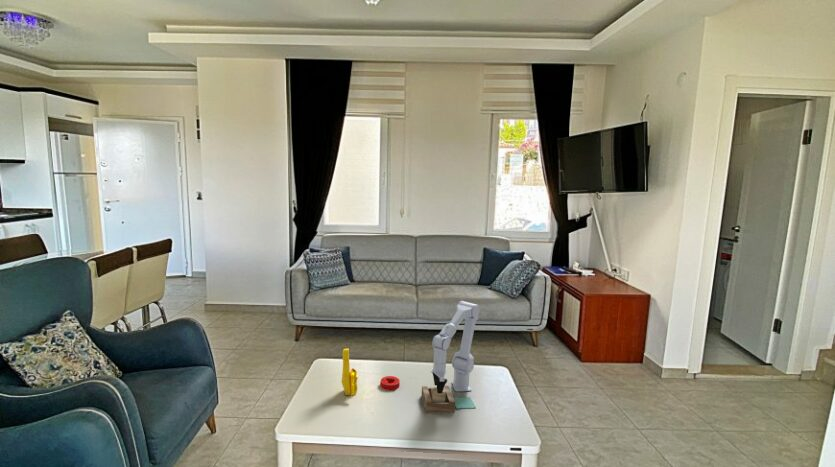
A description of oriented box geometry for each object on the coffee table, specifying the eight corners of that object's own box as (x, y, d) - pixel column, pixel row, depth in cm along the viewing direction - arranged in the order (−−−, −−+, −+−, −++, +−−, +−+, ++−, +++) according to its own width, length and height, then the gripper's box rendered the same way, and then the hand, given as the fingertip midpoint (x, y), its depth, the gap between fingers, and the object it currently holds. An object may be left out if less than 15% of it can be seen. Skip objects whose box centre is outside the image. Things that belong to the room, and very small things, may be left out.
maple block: (430, 397, 197) (431, 387, 196) (443, 397, 198) (444, 387, 197) (432, 402, 193) (432, 391, 193) (445, 401, 194) (445, 391, 193)
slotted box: (421, 396, 202) (421, 386, 202) (447, 395, 204) (448, 385, 204) (426, 413, 188) (426, 402, 187) (454, 412, 189) (455, 401, 189)
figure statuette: (357, 402, 194) (358, 356, 192) (340, 402, 193) (341, 357, 190) (358, 383, 212) (359, 341, 209) (342, 383, 211) (343, 342, 208)
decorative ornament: (403, 386, 212) (403, 380, 211) (390, 392, 204) (390, 386, 204) (389, 379, 218) (390, 373, 218) (376, 385, 211) (376, 379, 210)
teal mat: (452, 398, 201) (452, 397, 201) (470, 398, 202) (470, 397, 202) (456, 408, 192) (456, 408, 192) (475, 408, 193) (475, 407, 193)
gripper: (428, 354, 200) (427, 381, 202) (434, 368, 186) (432, 397, 187) (443, 354, 201) (441, 381, 202) (449, 367, 187) (447, 396, 188)
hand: (438, 388), depth 195 cm, fingers open, 7 cm apart
